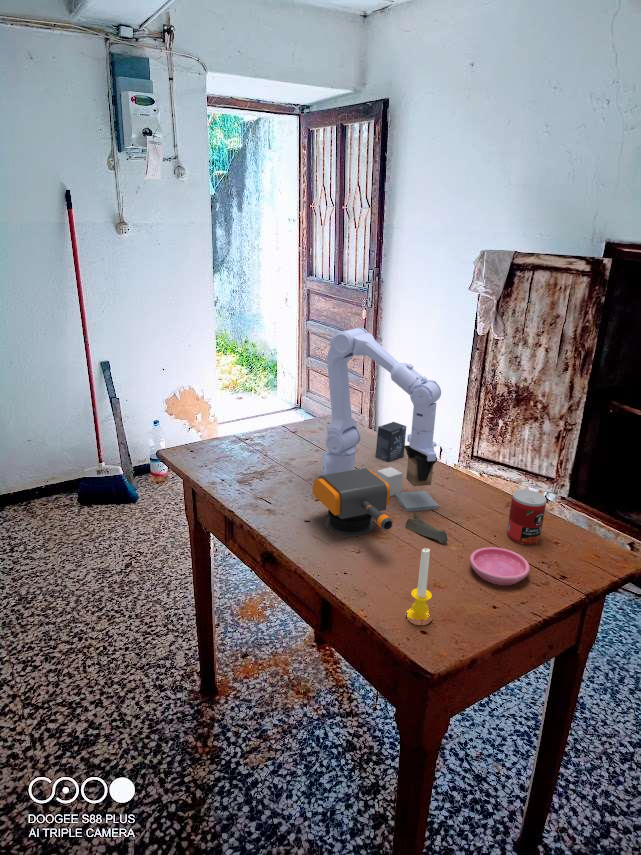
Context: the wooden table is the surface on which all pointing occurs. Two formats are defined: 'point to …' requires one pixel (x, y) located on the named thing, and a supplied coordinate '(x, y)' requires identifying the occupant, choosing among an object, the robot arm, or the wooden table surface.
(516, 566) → the saucer
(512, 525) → the canned food
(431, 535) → the bone
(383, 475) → the grey block
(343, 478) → the sander
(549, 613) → the wooden table surface
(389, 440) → the box
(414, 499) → the coaster
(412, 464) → the walnut block
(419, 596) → the candle
